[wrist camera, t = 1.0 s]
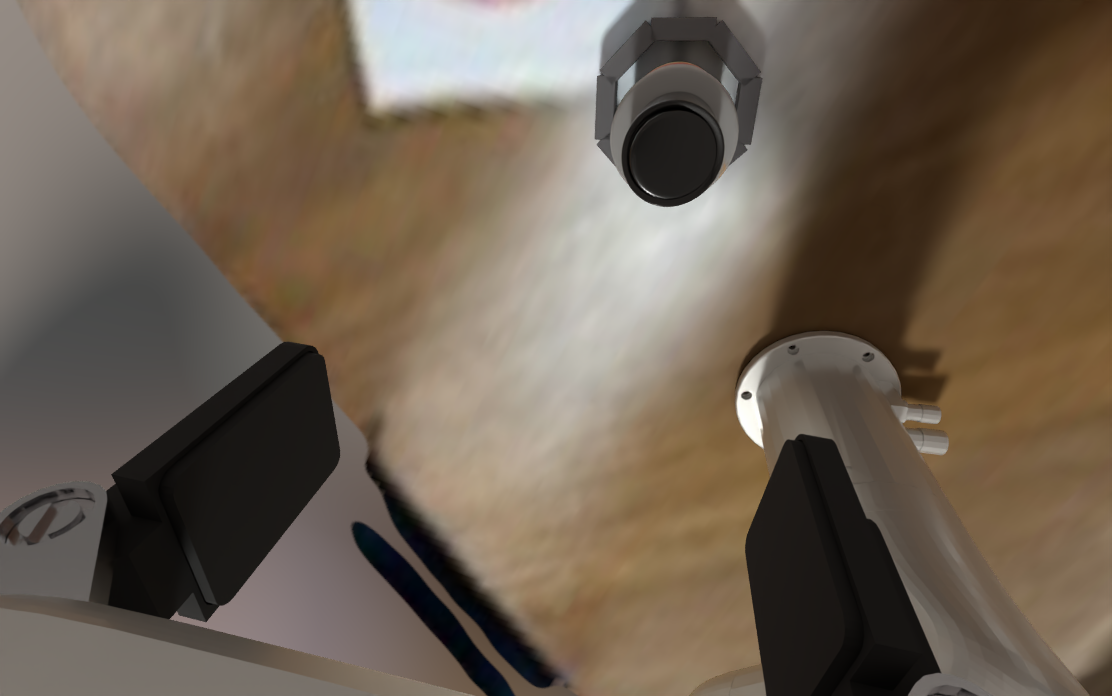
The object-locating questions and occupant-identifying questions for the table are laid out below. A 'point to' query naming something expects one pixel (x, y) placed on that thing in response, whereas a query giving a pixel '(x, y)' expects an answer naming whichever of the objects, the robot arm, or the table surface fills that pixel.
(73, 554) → the robot arm
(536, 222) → the table surface
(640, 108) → the lotion bottle
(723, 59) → the collar
